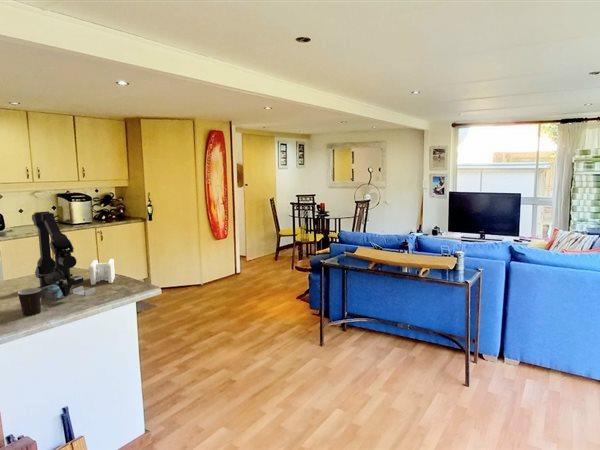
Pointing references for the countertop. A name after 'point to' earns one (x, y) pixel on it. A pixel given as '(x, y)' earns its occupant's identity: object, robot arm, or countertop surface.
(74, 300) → the countertop surface
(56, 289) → the light blue block
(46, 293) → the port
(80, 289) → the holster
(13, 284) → the countertop surface
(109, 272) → the cable organizer
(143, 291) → the countertop surface
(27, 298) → the coffee mug
